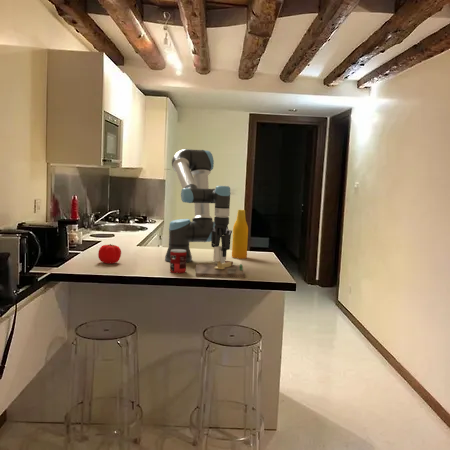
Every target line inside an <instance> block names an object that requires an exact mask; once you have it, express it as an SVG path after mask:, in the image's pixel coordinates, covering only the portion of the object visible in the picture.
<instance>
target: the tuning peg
mask: <svg viewBox="0 0 450 450" xmlns="http://www.w3.org/2000/svg"><path fill="white" fill-rule="evenodd" d="M224 248H225V247H224ZM221 250H222V245H219V246H217V247H214V248H213V261H217V263H216V264H217V266H216V267H214V268H215V269H225V267H229V266H231V262H228V263H220V259H221ZM227 251H228V250H227ZM227 251H226V254H228V253H227ZM225 261H227V256H226V257H225Z"/></svg>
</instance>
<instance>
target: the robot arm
mask: <svg viewBox="0 0 450 450" xmlns="http://www.w3.org/2000/svg"><path fill="white" fill-rule="evenodd" d="M214 163H215V161H214V156H213V154H212V151H210V150H204V149H190V148H189V149H188V148H184V149H180V150H178V151H177V152H176V153H175V154H174V155H173V157H172V159H171V166H172V169H173V171H174V172H176V174H177V177H178V180H179V182H180V183H179V184H180V186H181V188H182V189H181V191H180V198H181V199H180V200H181V201H182V203H188V204H194V217H193V218H192V219H190V218H181V219H180V218H179V219H174V220H171V221H170V222H169V226H168V227H169V228H168V247H167V251H166V253H165V257H164V258H165V259H164V261H166V262H169V263H170V253H171V250H172V249H183V250H186V252H187V253H186V263H190V262H192V261H193V255H192V253H191V249H190V243H209V242H211V246H210V247H211V248H213V249H214V247H217V246H220V242H221V246H222V250H221V259H220V263H222V264H223V263H225V261H226V260H225V257H226V258H227V253H226V251H228V250H230V248H231V238H232V234H233V230H231V229H229V224H230V210H231V209H230V204H231V203H230V202H231V195H232V194H231V193H232V192H231V187H230V186H229V185H227V186H226V185H216V186H215V188H210V187H209V186H210V185H209V176H210V174H211V171H213V169H214V165H215V164H214ZM210 204H214V217H212V216H211V215H210V214H211V213H210ZM213 218H214V219H213ZM224 247H225V248H224ZM215 262H217V261H214V263H215Z"/></svg>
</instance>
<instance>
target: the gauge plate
mask: <svg viewBox="0 0 450 450" xmlns="http://www.w3.org/2000/svg"><path fill="white" fill-rule="evenodd" d="M228 262H231V266H229V267H225V269H215V268H214V267H216V266H217V263H215V264H213V263H210V264H209V263H195V277H211V278H212V277H213V278H236V279H237V278H239V279H240V278H241V279H242V278H244V279H245V278H246V273H245V271H244V268H243V264H241V263H240V264H234V262H233V261H232V260H225V263H228Z"/></svg>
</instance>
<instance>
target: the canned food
mask: <svg viewBox="0 0 450 450" xmlns="http://www.w3.org/2000/svg"><path fill="white" fill-rule="evenodd" d="M186 253H187V252H186V250H183V249H172V250H171V253H170V262H169V271H170V273H172V274H184V273H186V271H187V262H186Z"/></svg>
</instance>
